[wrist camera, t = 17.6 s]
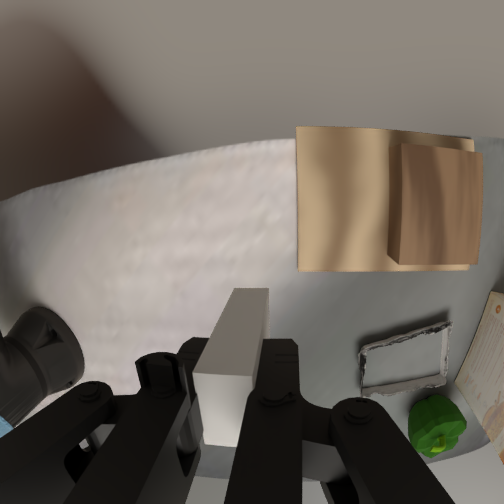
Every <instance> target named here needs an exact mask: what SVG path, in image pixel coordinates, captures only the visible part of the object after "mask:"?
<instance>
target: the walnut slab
mask: <svg viewBox="0 0 504 504" xmlns="http://www.w3.org/2000/svg"><path fill="white" fill-rule="evenodd" d="M482 204H483V158H482V153H478V152H471V151H465V150H458V149H451V148H443V147H434V146H425V145H416V144H405V143H400V144H398V145H395V146H392V147H389V227H388V247H387V255H388V256H389V257H390V258H391V259H392V260H394V261H395V262H396V263H397V264H398V265H463V264H477V263H478V255H479V246H480V236H481V223H482Z"/></svg>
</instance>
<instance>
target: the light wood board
mask: <svg viewBox="0 0 504 504" xmlns="http://www.w3.org/2000/svg"><path fill="white" fill-rule="evenodd" d="M296 143H297V179H298V271H443V270H469V264H463V265H398V264H397V263H396V262H395V261H394V260H392V259H391V258H390V257H389V256H388V255H387V247H388V227H389V147H392V146H395V145H398V144H400V143H405V144H416V145H425V146H434V147H443V148H451V149H458V150H465V151H471V152H474V140H470V139H464V138H457V137H451V136H444V135H436V134H428V133H419V132H410V131H400V130H388V129H374V128H355V127H325V126H324V127H323V126H296Z"/></svg>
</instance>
